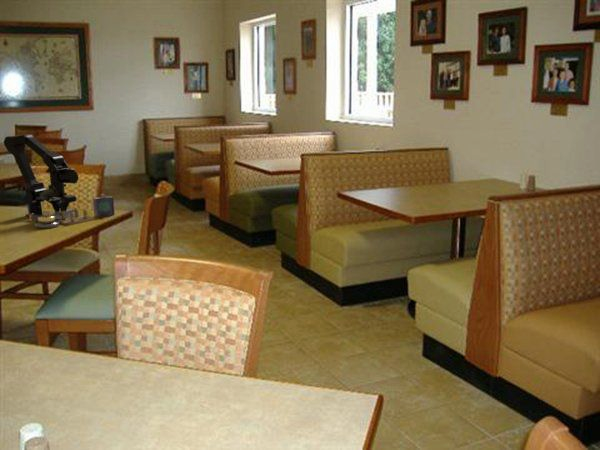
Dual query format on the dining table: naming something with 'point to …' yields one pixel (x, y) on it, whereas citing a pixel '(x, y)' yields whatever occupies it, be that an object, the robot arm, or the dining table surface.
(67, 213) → the spanner
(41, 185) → the robot arm
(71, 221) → the rack
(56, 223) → the nut base
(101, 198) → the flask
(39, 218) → the grey red-tipped part
